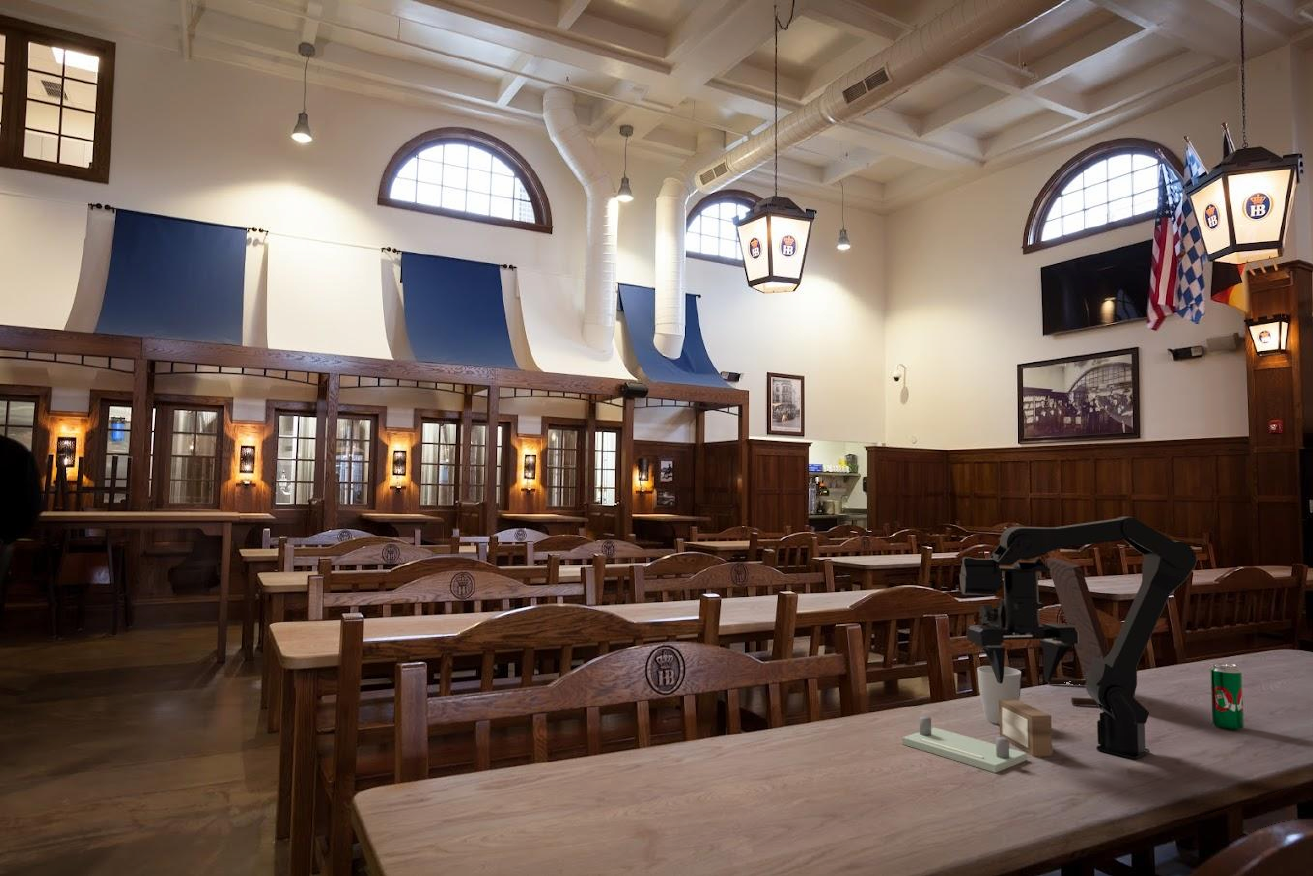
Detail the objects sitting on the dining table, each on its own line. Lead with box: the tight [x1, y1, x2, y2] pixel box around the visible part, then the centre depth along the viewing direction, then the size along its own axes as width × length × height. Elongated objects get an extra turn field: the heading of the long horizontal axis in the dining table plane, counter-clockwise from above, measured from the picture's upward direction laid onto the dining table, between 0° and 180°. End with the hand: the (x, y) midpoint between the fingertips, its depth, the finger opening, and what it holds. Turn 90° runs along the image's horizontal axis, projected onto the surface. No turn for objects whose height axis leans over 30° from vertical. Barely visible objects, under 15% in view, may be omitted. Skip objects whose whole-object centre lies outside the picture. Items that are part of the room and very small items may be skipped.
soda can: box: [1209, 662, 1245, 732], centre depth 155 cm, size 5×5×12 cm
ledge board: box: [901, 715, 1028, 773], centre depth 140 cm, size 18×10×4 cm, turn 37°
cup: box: [976, 665, 1022, 725], centre depth 159 cm, size 8×8×10 cm
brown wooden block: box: [999, 699, 1053, 757], centre depth 143 cm, size 10×4×7 cm, turn 7°
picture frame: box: [1045, 556, 1111, 707], centre depth 179 cm, size 21×11×30 cm, turn 168°
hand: (1023, 682), depth 144 cm, fingers open, 9 cm apart
